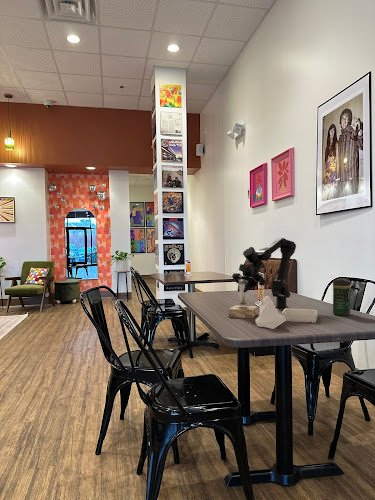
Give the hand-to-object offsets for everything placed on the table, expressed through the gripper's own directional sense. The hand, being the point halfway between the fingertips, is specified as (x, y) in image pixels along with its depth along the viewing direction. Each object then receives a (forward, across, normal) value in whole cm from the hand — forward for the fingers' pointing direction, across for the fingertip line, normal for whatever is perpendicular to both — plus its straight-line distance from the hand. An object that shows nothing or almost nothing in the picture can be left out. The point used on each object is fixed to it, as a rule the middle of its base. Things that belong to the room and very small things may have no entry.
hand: (241, 291), depth 189 cm
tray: (-1, +25, +19) cm, 31 cm away
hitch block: (+8, 0, +10) cm, 13 cm away
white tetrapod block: (+15, +24, +3) cm, 29 cm away
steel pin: (+4, 0, +6) cm, 7 cm away
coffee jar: (-18, +34, +36) cm, 53 cm away
